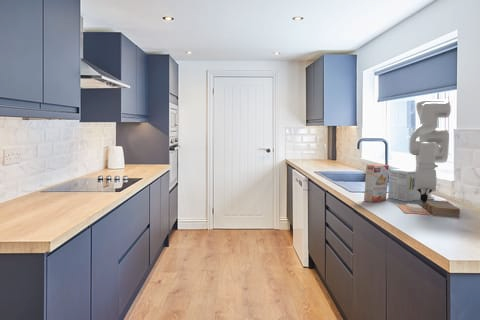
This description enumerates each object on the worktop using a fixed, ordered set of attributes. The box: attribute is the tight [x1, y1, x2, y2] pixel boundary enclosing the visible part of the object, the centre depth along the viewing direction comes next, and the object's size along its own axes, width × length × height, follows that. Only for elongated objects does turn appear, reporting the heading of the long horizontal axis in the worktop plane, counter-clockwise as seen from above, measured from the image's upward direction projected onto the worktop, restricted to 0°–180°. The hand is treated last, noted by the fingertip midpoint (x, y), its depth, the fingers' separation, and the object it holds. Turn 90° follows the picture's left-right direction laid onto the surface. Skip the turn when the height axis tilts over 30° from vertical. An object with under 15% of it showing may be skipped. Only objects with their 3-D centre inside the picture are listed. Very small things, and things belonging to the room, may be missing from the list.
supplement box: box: [387, 168, 421, 202], centre depth 233 cm, size 13×13×18 cm
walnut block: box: [421, 199, 461, 218], centre depth 199 cm, size 20×12×4 cm, turn 168°
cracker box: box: [363, 163, 390, 203], centre depth 224 cm, size 14×6×21 cm, turn 126°
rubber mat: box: [396, 204, 431, 216], centre depth 202 cm, size 20×12×1 cm, turn 168°
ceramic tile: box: [405, 203, 424, 212], centre depth 201 cm, size 9×6×2 cm, turn 169°
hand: (423, 201), depth 200 cm, fingers closed
